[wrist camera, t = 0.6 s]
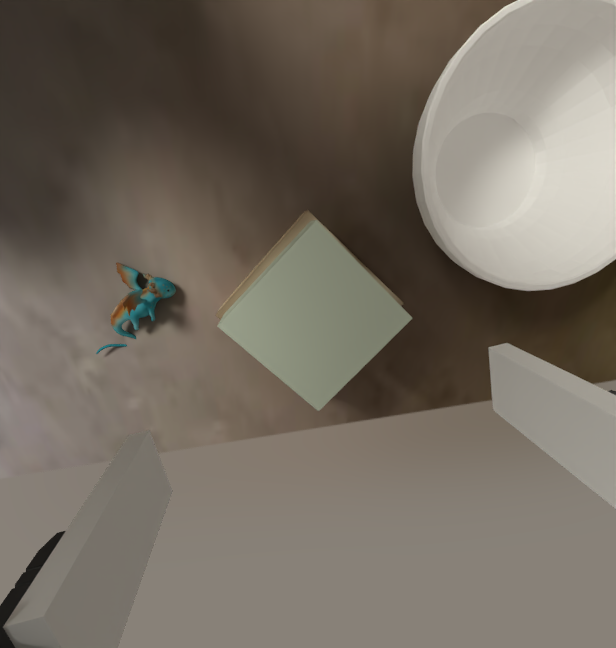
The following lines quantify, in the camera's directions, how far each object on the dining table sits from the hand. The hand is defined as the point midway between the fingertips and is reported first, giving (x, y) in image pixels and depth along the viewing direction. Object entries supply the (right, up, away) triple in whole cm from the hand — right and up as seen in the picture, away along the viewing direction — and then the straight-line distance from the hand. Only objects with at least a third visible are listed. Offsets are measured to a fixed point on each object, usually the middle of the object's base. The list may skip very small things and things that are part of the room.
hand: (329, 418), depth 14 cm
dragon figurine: (-17, +5, +21) cm, 28 cm away
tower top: (-1, +5, +19) cm, 19 cm away
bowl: (+16, +18, +21) cm, 32 cm away
